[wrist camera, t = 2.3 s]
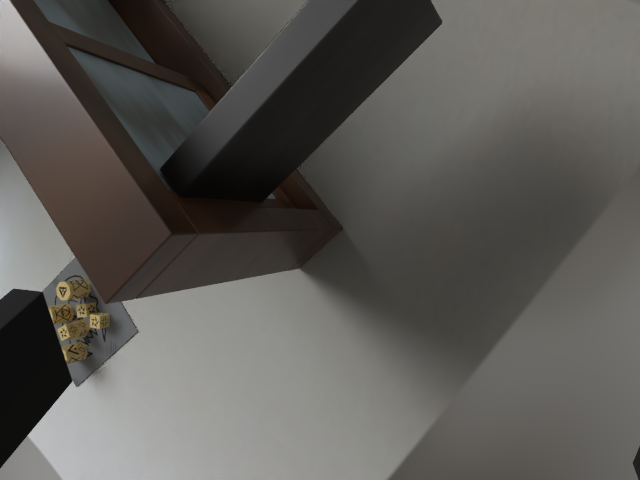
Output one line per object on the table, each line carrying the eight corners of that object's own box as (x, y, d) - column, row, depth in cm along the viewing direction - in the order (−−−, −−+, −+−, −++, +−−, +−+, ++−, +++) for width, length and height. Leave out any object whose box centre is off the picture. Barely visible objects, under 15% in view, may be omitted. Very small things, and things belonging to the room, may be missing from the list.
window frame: (343, 228, 33) (172, 234, 18) (298, 268, 34) (104, 305, 19) (112, -64, 39) (-152, -235, 24) (82, -20, 40) (-186, -158, 26)
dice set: (79, 364, 42) (58, 370, 40) (50, 310, 43) (28, 314, 41) (118, 328, 40) (98, 333, 38) (86, 273, 41) (65, 275, 39)
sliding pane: (469, 60, 28) (411, -53, 16) (293, 227, 32) (150, 230, 21) (334, -81, 30) (203, -263, 19) (189, 90, 35) (11, 26, 23)
